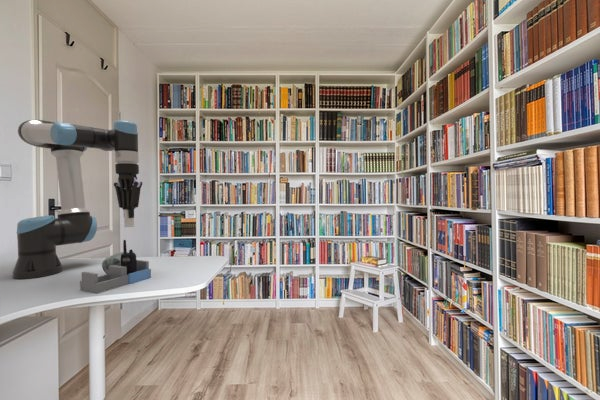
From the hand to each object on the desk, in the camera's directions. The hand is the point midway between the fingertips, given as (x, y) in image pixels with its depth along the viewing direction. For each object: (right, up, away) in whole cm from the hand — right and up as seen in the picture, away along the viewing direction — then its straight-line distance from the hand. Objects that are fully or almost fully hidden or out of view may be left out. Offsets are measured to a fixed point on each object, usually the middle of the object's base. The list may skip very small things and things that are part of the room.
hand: (129, 226), depth 112 cm
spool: (-10, -20, +10) cm, 24 cm away
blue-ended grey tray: (-2, -20, -4) cm, 20 cm away
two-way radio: (0, -20, +1) cm, 20 cm away
